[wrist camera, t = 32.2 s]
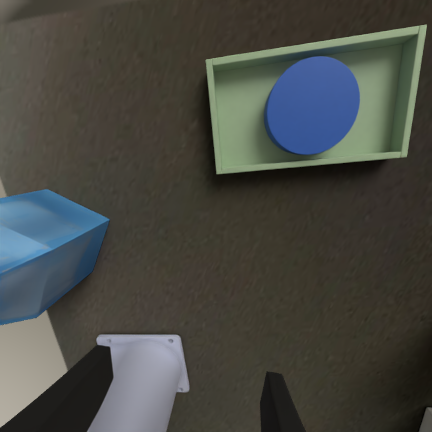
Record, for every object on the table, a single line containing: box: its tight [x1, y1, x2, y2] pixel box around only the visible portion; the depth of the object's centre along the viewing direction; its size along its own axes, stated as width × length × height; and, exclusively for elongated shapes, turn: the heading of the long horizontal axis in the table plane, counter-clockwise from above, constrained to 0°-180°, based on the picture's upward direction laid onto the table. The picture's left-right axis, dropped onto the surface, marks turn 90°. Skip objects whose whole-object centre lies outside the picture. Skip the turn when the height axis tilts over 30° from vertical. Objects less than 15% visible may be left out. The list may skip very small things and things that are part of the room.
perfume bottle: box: [0, 189, 110, 325], centre depth 14 cm, size 6×6×12 cm
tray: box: [206, 25, 427, 174], centre depth 14 cm, size 13×7×2 cm, turn 96°
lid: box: [264, 56, 360, 155], centre depth 14 cm, size 6×6×2 cm
